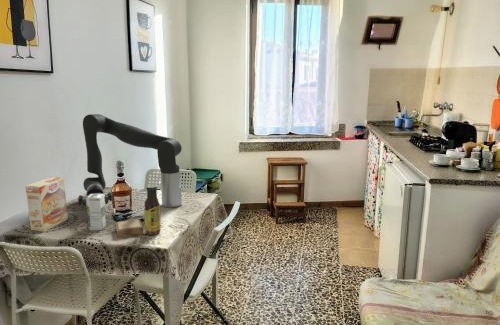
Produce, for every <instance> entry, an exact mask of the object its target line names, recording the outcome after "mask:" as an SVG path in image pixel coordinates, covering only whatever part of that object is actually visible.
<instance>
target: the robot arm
mask: <svg viewBox="0 0 500 325" xmlns="http://www.w3.org/2000/svg"><path fill="white" fill-rule="evenodd" d="M82 128H83V135H84V140H85V147H86V154H87V155H86V159H87V160H86V161H87V162H86V163H87V164H86V165H87V166H86V167H87V170H86V171H87V172H88V173H89V174H94V175H97V176H96V177H94V176H92V177H86V178H85V179H84V181H83V188H84V190H85V191H86V195H85V196H83V195H81V194H79V195H78V198H77V202H78V205H82V206H84V207H87V202H86V198H87V197H88V196H89V195H91V194H104V199H105V205H108V203H109V201H110V202H112V201H113V194H112V192H108V193H104V190H105V189H106V186H107V184H106V183H107V182H106V181H105V177H104V174H103V158H102V153H101V150H100V147H99V145H98V138H97V137H98V136H97V135H98V133H104V134H109V135H111V136H113V137H116V138H117V139H118V140H119V141H121V142H122V143H124V144H127V145H130V146H132V147H133V146H134V147H138V148H145V149H153V150H156V151H157V163H158V167H159V169H160V188H161V191H160V192H161V206H162V207H163V208H176V207H179V206H182V205H183V204H182V203H183V202H182V186H181V178H180V176H181V175H180V174H181V173H180V166H179V165H178V164H177V162H176V161H177V159H176V157H177V156H179V155H180V154H181V152H182V149H183V148H182V145H181V143H180V141H179V140H178V139H176V138H172V137H167V136H162V135H158V134H156V133H152V131H151V132H150V131H147V130H145V129H142V128H139V127H137V126H133V125H130V124H126V123H122V122H119V121H115V120H113V119H111V118H109V117H107V116H104V115H103V114H99V113H98V114H96V113H95V114H94V113H93V114H87V115H85V116H84V117H83V119H82Z"/></svg>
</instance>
